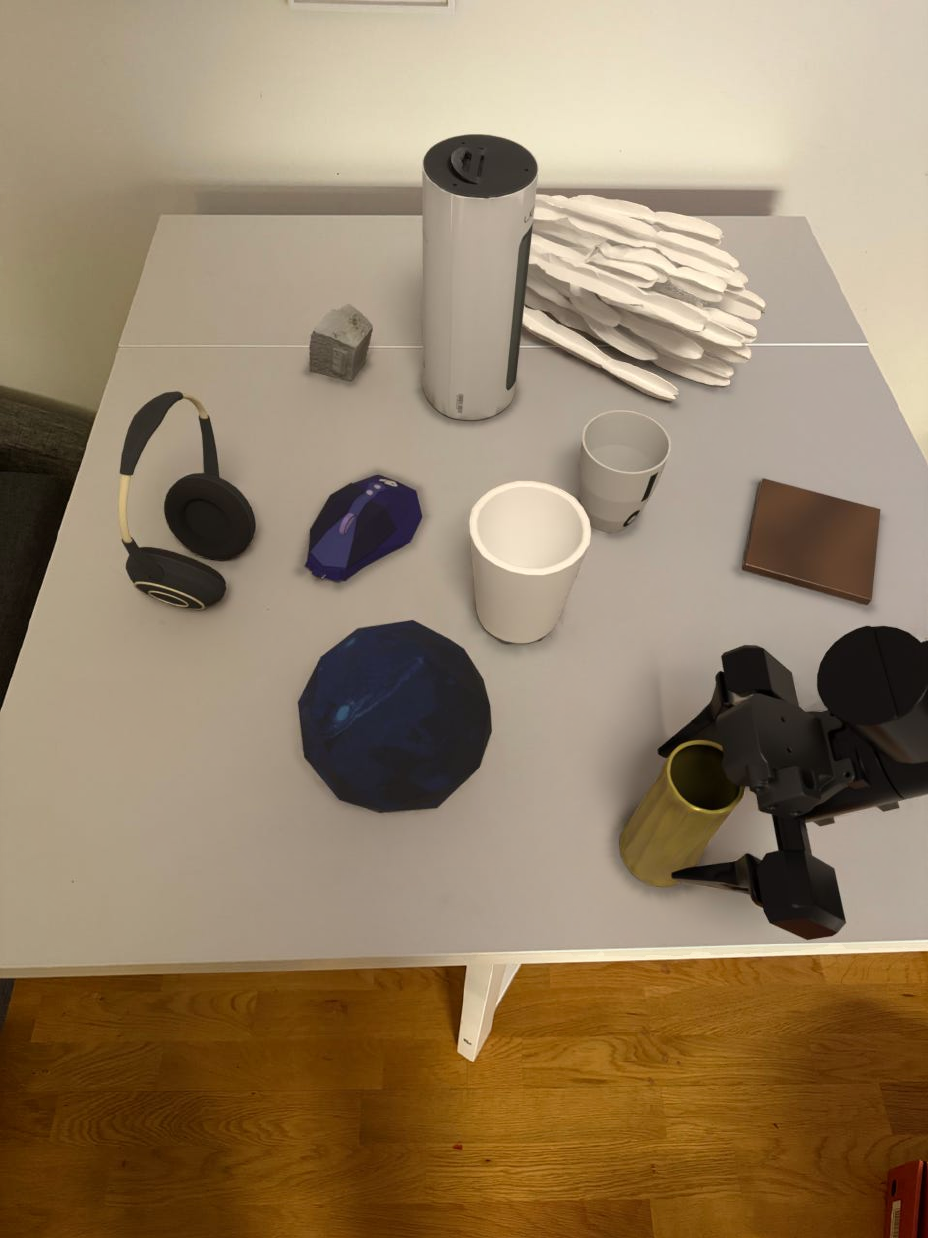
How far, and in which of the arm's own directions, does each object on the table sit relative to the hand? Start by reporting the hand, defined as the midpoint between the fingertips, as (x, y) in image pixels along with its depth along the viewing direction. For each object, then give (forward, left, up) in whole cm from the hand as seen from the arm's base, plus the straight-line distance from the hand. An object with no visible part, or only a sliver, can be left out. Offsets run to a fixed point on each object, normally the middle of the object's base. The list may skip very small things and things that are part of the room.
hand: (666, 813), depth 62 cm
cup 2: (+11, -33, -8) cm, 35 cm away
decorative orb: (+21, -1, -8) cm, 22 cm away
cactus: (+18, -60, -8) cm, 63 cm away
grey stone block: (+44, -43, -8) cm, 62 cm away
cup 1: (+16, -18, -8) cm, 25 cm away
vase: (-1, 0, -8) cm, 8 cm away
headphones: (+45, -12, -8) cm, 47 cm away
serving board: (-9, -36, -7) cm, 38 cm away
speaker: (+30, -45, -8) cm, 54 cm away
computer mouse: (+33, -22, -8) cm, 40 cm away
